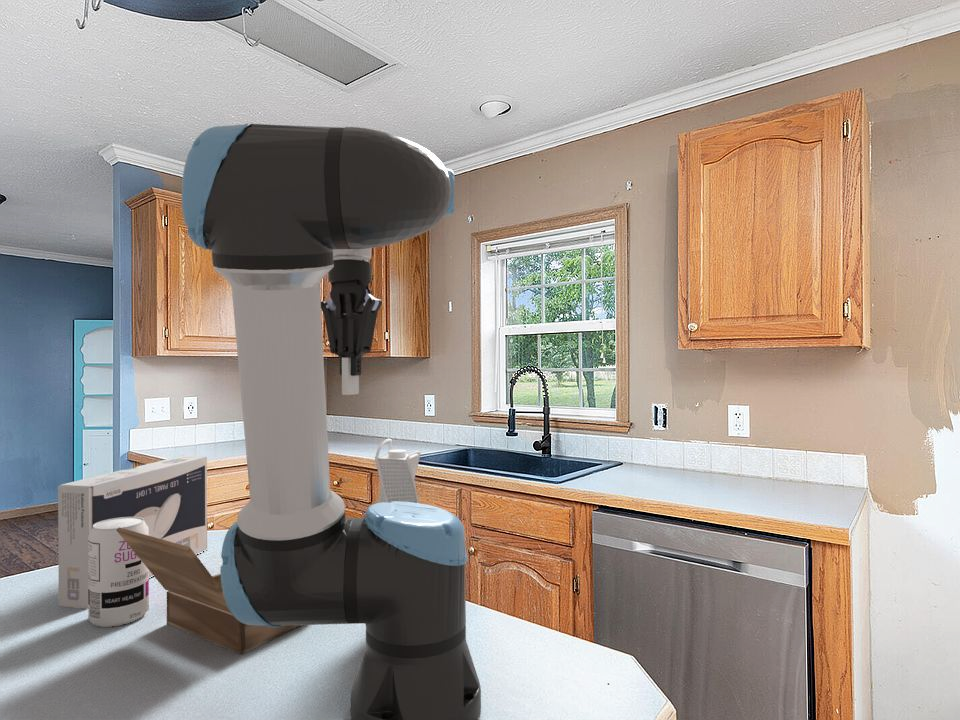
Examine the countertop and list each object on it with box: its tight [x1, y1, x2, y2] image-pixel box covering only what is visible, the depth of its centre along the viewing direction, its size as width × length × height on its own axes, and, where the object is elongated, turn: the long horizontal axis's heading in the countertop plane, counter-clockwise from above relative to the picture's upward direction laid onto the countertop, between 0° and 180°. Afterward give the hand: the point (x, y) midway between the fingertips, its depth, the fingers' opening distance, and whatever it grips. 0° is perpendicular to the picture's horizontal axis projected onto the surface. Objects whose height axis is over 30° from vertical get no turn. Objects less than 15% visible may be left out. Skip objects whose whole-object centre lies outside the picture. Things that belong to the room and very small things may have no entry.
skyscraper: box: [374, 437, 421, 503], centre depth 95 cm, size 8×8×28 cm
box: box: [166, 573, 303, 655], centre depth 95 cm, size 14×18×5 cm
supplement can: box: [87, 517, 150, 628], centre depth 96 cm, size 8×8×15 cm
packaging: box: [57, 455, 208, 609], centre depth 115 cm, size 30×6×20 cm, turn 168°
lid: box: [116, 527, 231, 613], centre depth 86 cm, size 1×17×13 cm
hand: (350, 394), depth 108 cm, fingers closed
